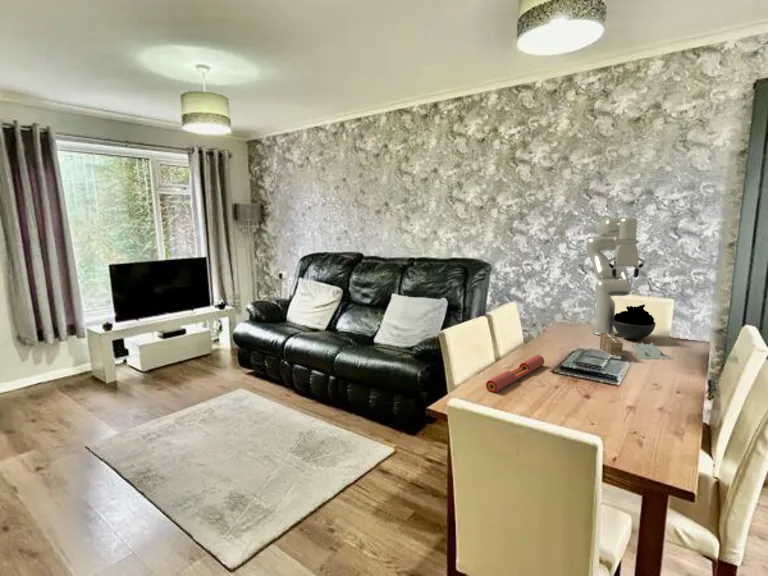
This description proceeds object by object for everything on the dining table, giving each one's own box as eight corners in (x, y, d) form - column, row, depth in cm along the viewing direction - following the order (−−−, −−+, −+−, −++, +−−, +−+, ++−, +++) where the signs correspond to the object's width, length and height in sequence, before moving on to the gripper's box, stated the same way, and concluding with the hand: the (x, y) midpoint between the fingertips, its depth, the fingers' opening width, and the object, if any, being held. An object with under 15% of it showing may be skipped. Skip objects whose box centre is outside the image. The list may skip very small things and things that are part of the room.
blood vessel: (497, 394, 160) (497, 382, 159) (485, 391, 164) (485, 379, 163) (544, 366, 190) (544, 356, 189) (533, 364, 193) (534, 353, 192)
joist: (599, 348, 214) (600, 332, 213) (610, 348, 213) (611, 333, 212) (609, 359, 197) (611, 342, 196) (621, 359, 196) (622, 342, 194)
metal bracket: (626, 340, 207) (657, 340, 207) (624, 350, 209) (654, 350, 209) (642, 357, 194) (675, 356, 194) (639, 367, 196) (672, 367, 196)
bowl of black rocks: (623, 344, 219) (625, 309, 217) (605, 334, 239) (607, 302, 236) (662, 344, 219) (665, 308, 216) (640, 334, 238) (643, 301, 236)
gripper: (643, 242, 210) (641, 276, 212) (606, 242, 214) (604, 276, 217) (649, 243, 203) (646, 278, 205) (609, 243, 207) (608, 277, 209)
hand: (624, 277), depth 211 cm, fingers open, 9 cm apart
